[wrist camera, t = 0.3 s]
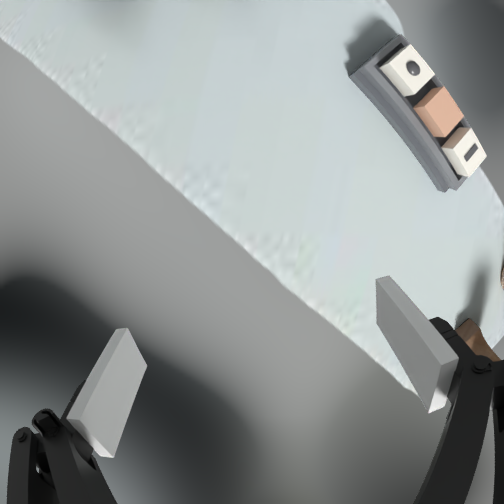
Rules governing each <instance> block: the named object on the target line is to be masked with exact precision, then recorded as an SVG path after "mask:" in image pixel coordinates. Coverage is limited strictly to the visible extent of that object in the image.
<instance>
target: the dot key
mask: <svg viewBox="0 0 504 504" xmlns="http://www.w3.org/2000/svg"><path fill="white" fill-rule="evenodd" d="M380 69H381V70H382V71H383V73H384V74H385V75H386V76H387V77H388V78H389V79H390V81H391V82H392V83H393V84H394V85H395V86H396V88H397V89H398V90H399V91H400V92H401V94H402V95H403V96H409V95H414V94H416V93H417V92H418V91H419V90H420V89H421V88H422V87H423V86H424V85H425V84H426V83H427V82H428V81H429V80H430V79H431V78H432V77H433V76H434V75H435V73H434V72H433V71H432V70H431V68H430V67H429V66H428V65H427V63H426V62H425V61H424V60H423V58H422V57H421V56H420V55H419V54H418V52H417V51H416V50H415V49H414V48H413V47H412V45H411V44H410V45H408V46H406V47H404V48H402V49H400V50H399V51H398V52H397V53H396V54H394V55H393V56H392V57H391V58H390V59H389V60H388V61H387V62H385V63H384V64H383V65H382V66H381V67H380Z"/></svg>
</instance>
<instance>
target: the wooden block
mask: <svg viewBox="0 0 504 504" xmlns="http://www.w3.org/2000/svg"><path fill="white" fill-rule="evenodd" d="M455 331H456V332H457V333H458V336H460V337H461V338H462V339H463V340H464V341H465V342H466V344H467V345H468V346H469V347H470V348H471V350H472V351H473V352H474V353H475V354H476V355H483V356H487V357H488V358H490V359H491V360H492V361H500V358H499V357H498V356H497V355H496V354H495V353H494V352H493V350H492V349H491V348H490V347H489V345H488V344H487V342H486V341H485V339H484V337H483V335H482V332H481V330H480V328H479V327H478V326H477V325H476V324H475V323H474V322H473V321H472V320H471V319H470V318H469V319H467V320H466V321H465V322H464V323H463V324H462V325H461V326H460V327H458V328H457V329H456V330H455Z"/></svg>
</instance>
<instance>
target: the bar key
mask: <svg viewBox="0 0 504 504" xmlns="http://www.w3.org/2000/svg"><path fill="white" fill-rule="evenodd" d="M441 148H442V150H443V151H444V153H445V155H446V156H447V158H448V159H449V161H450V163H451V164H452V166H453V167H454V169H455V171H456V172H457V174H459V175H463V176H467V177H470V176H471V175H472V174H473V172H474V171H475V170H476V169H477V167H478V166H479V165H480V164H481V162H482V161H483V160H484V158H485V157H486V154H485V152H484V150H483V148H482V146H481V144H480V142H479V141H478V139H477V137H476V135H475V134H474V132H473V130H472V128H463V127H459V128H458V129H457V130H456V131H455V132H454V134H453V135H452V136H451V137H450V138H449V139H448V140H447V141H446V143H445V144H444V145H443V146H442V147H441Z"/></svg>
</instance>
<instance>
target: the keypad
mask: <svg viewBox="0 0 504 504" xmlns="http://www.w3.org/2000/svg"><path fill="white" fill-rule="evenodd" d="M408 45H410V43H409V42H408V41H407V40H406V38H405V37H404V36H403V35H402V34H401V35H398V36H396V37H395V38H393V39H392V40H391V41H390V42H388V43H387V44H386V45H385V46H384V47H382V48H381V49H380V50H379V51H378V52H377V53H375V54H374V55H373V56H372V57H371V58H370V59H368V60H367V61H366V62H365V63H364V64H363V65H362V66H360V67H359V68H358V69H357V70H356V71H355V72H354V73H353V74H351V75H350V76H349V78H350V79H351V80H352V81H353V82H354V83H355V84H356V85H357V86H358V87H359V88H360V90H361V91H362V92H363V93H364V94H365V95H366V96H367V97H368V98H369V99H370V101H371V102H372V103H373V104H374V105H375V106H376V107H377V109H378V110H379V111H380V112H381V113H382V114H383V116H384V117H385V118H386V119H387V120H388V122H389V123H390V124H391V125H392V127H393V128H394V129H395V130H396V132H397V133H398V134H399V136H400V137H401V138H402V139H403V141H404V142H405V143H406V145H407V146H408V147H409V149H410V150H411V151H412V153H413V154H414V156H415V157H416V158H417V160H418V161H419V163H420V164H421V165H422V167H423V168H424V170H425V171H426V173H427V174H428V176H429V177H430V179H431V180H432V182H433V183H434V185H435V186H436V188H437V189H438V190H439V191H442V192H446V191H447V190H448V189H449V188H451V189H454V190H457V189H458V188H459V187H460V186H461V184H462V183H463V182H464V181H465V180H466V179H467V176H463V175H459V174H457V172H456V171H455V169H454V167H453V166H452V164H451V163H450V161H449V159H448V158H447V156H446V155H445V153H444V151H443V150H442V148H441V147H442V146H443V145H444V144H445V143H446V141H447V140H448V139H449V138H450V137H451V136H452V135H453V134H454V132H455V131H456V130H457V129H458V128H459V127H463V128H471V127H470V125H469V123H468V122H467V120H466V118H465V117H463V118H462V119H461V120H460V121H459V123H458V124H457V125H456V126H455V127H454V128H453V129H452V130H451V132H450V133H449V134H448V135H447V136H446V137H434V136H433V135H432V133H431V132H430V131H429V129H428V128H427V126H426V125H425V124H424V122H423V121H422V119H421V118H420V117H419V115H418V114H417V113H416V111H415V110H414V109H413V108H414V107H415V106H416V105H417V104H418V103H419V102H420V101H421V100H422V99H423V98H424V97H425V95H426V94H427V93H428V92H429V91H430V90H431V89H433V88H438V87H443V84H442V83H441V81H440V80H439V79H438V77H437V76H436V75H434V76H433V77H432V78H431V79H430V80H429V81H428V82H427V83H426V84H425V85H424V86H423V87H422V88H421V89H420V90H419V91H418V92H417V93H416V94H414V95H409V96H403V95H402V94H401V92H400V91H399V90H398V89H397V88H396V86H395V85H394V84H393V83H392V82H391V81H390V79H389V78H388V77H387V76H386V75H385V74H384V73H383V71H382V70H381V69H380V67H381V66H382V65H383V64H384V63H385V62H387V61H388V60H389V59H390V58H391V57H392V56H393V55H394V54H396V53H397V52H398V51H399V50H400V49H402V48H404V47H406V46H408ZM418 54H419V53H418ZM423 60H424V59H423ZM427 65H428V64H427ZM431 70H432V69H431ZM458 108H459V107H458ZM460 111H461V110H460Z"/></svg>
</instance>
